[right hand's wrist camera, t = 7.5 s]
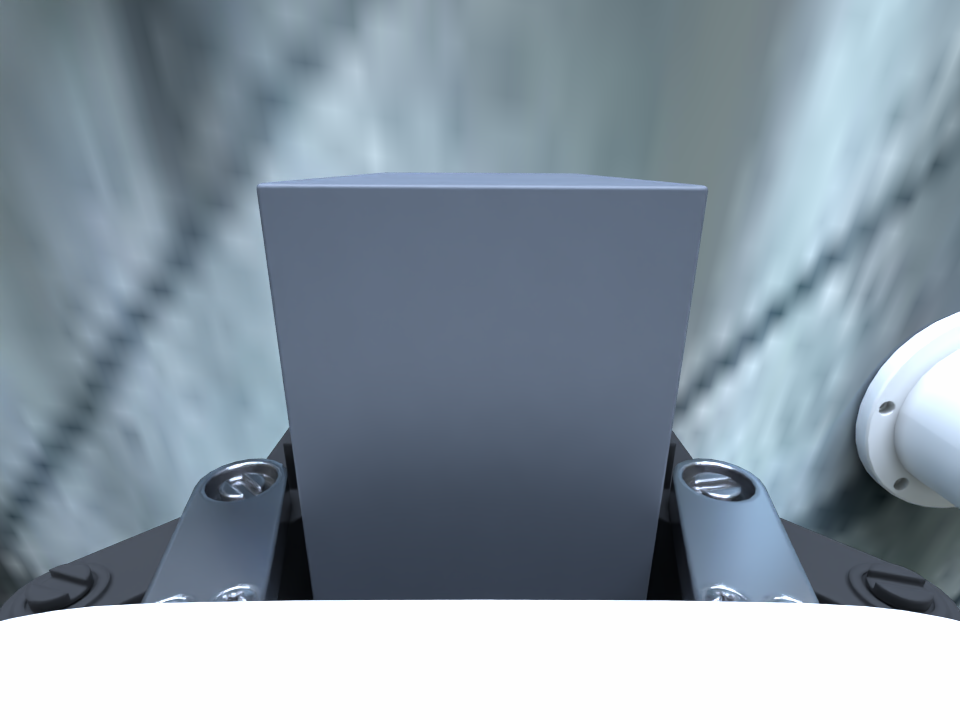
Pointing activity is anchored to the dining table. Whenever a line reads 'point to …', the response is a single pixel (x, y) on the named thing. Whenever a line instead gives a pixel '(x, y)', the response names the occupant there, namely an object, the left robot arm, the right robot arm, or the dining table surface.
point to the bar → (480, 377)
